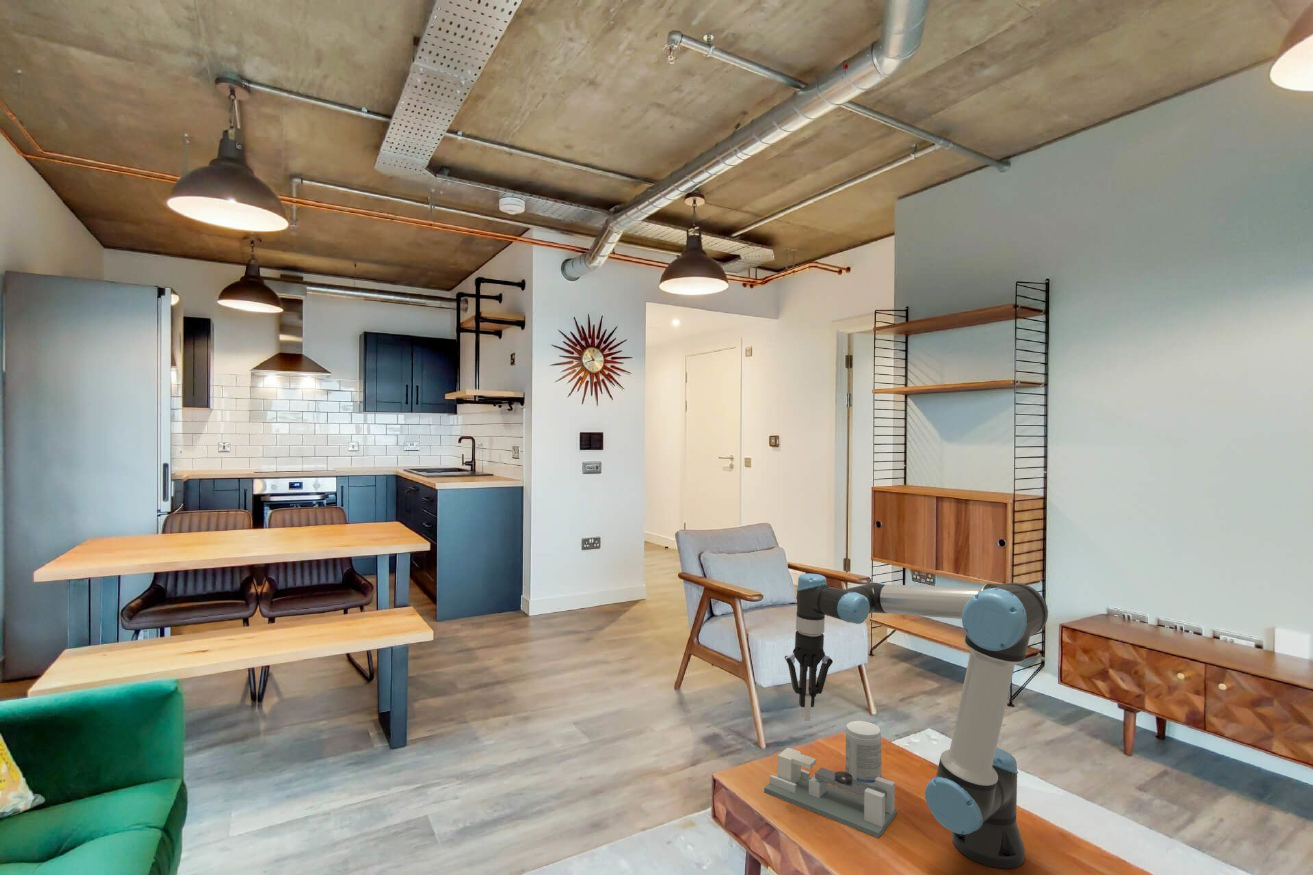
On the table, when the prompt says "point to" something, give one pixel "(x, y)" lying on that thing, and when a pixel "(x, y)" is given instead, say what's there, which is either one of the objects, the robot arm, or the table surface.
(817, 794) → the mount
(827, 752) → the table surface
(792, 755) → the block
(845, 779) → the grey long flat bar
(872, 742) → the supplement tub
